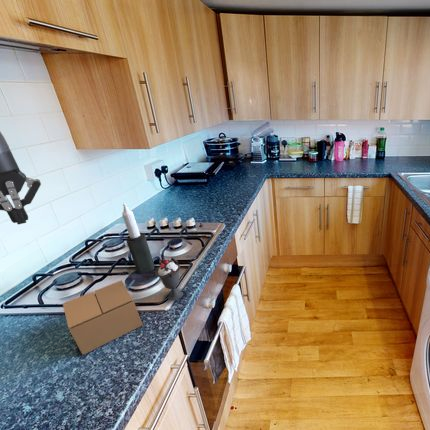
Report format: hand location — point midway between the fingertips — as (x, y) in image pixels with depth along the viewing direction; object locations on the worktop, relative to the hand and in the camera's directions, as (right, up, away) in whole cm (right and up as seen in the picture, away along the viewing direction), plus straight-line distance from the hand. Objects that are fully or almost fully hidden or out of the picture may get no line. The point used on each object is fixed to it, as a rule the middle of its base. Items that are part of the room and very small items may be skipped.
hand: (22, 222), depth 69 cm
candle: (+11, -17, +31) cm, 37 cm away
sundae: (+28, -23, +18) cm, 41 cm away
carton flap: (+13, -21, +1) cm, 25 cm away
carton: (+16, -28, +7) cm, 33 cm away
